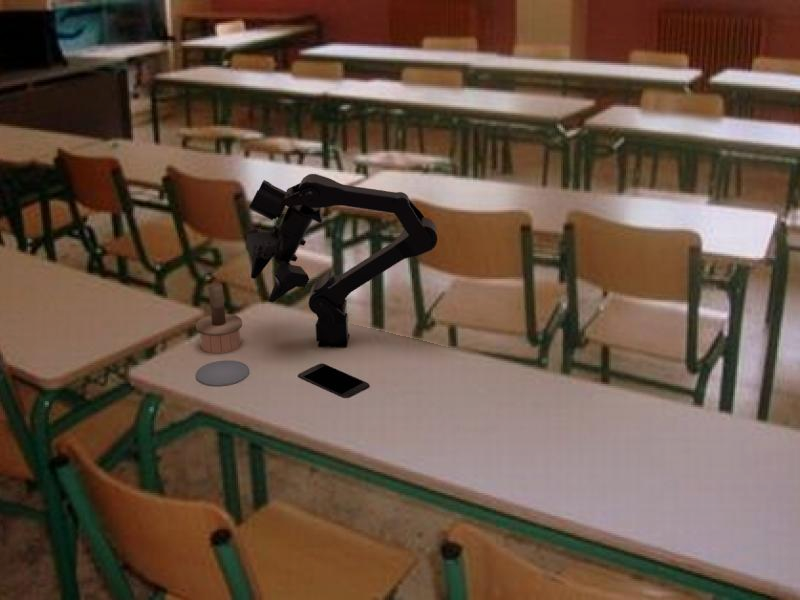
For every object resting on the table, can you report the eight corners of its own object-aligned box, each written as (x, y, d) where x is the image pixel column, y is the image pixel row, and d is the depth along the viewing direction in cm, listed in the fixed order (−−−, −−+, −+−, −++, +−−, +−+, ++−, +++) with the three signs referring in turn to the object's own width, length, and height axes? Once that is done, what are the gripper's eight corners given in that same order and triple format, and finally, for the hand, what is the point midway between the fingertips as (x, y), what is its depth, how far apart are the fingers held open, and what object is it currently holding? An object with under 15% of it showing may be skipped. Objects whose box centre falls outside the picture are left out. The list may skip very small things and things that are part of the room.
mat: (253, 362, 205) (253, 360, 204) (243, 386, 194) (243, 384, 194) (202, 361, 205) (202, 360, 205) (190, 385, 195) (189, 384, 195)
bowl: (243, 336, 217) (241, 318, 215) (235, 353, 209) (234, 334, 207) (206, 336, 217) (204, 318, 215) (197, 352, 209) (195, 334, 207)
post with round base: (251, 323, 212) (248, 283, 209) (219, 339, 205) (215, 298, 201) (219, 313, 218) (215, 274, 214) (186, 329, 210) (182, 288, 206)
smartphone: (346, 401, 189) (345, 397, 189) (295, 377, 199) (295, 374, 198) (372, 387, 194) (372, 383, 194) (321, 365, 204) (321, 362, 203)
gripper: (242, 200, 204) (213, 261, 209) (281, 246, 192) (248, 309, 197) (284, 210, 211) (255, 268, 217) (324, 255, 199) (291, 316, 205)
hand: (261, 289), depth 209 cm, fingers open, 9 cm apart
